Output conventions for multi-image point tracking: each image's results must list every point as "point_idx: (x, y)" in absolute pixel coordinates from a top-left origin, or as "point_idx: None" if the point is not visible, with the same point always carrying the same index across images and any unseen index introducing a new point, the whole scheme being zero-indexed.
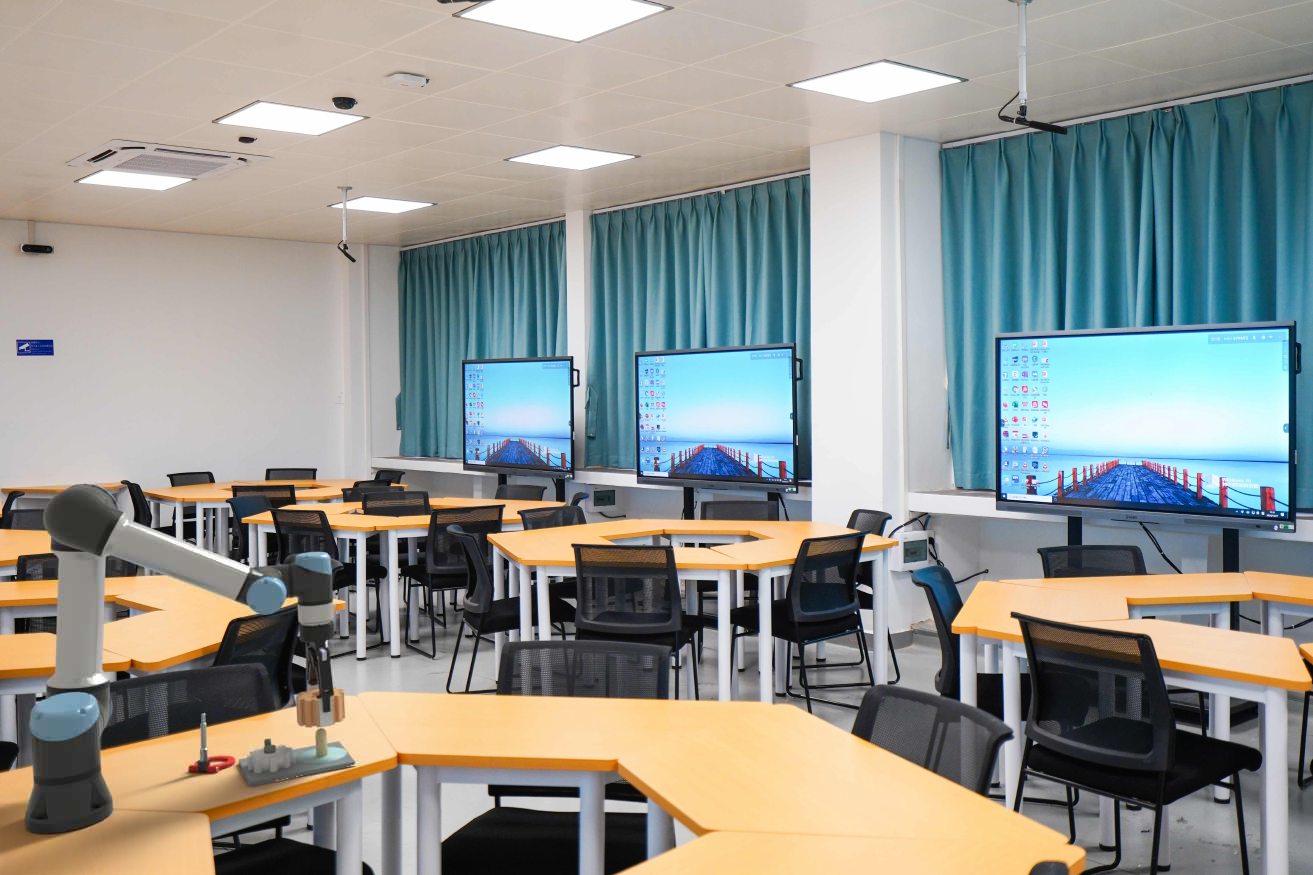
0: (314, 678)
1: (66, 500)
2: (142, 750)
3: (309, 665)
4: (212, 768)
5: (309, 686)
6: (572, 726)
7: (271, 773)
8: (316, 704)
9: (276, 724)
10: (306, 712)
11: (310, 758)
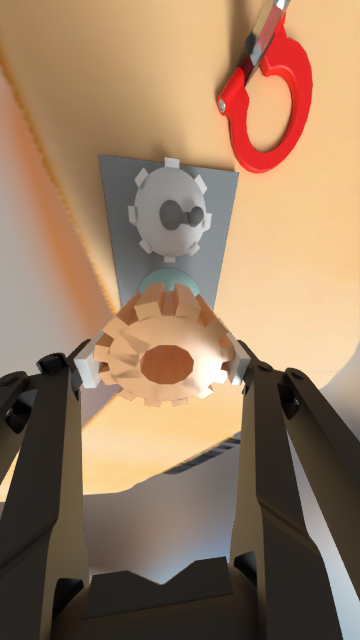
0: (248, 391)
1: None
2: None
3: (289, 460)
4: (226, 85)
5: (240, 358)
6: (139, 447)
7: (128, 213)
8: (101, 338)
9: (348, 283)
10: (124, 305)
11: (164, 286)
